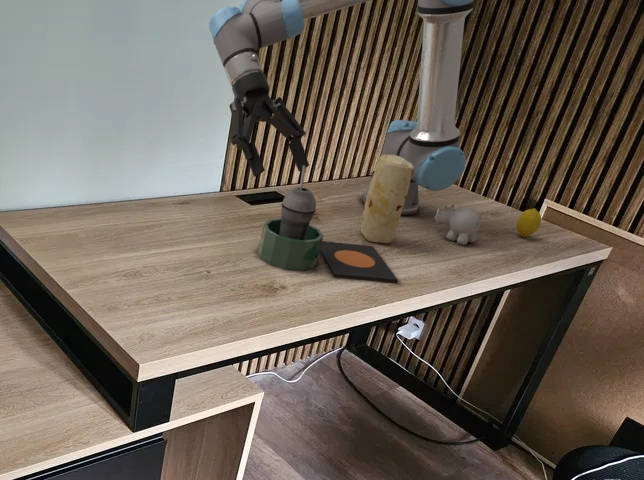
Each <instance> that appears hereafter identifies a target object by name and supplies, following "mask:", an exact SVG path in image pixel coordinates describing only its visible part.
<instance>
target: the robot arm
mask: <svg viewBox="0 0 644 480" xmlns="http://www.w3.org/2000/svg"><path fill="white" fill-rule="evenodd" d="M369 1H371V0H243V1H242V2H241V4H240V6H239V7H238V6H235V5H233V6H226V7H223V8H221V9H219V10H217V11H216V12H215V13H214V14H213V15H212V16H211V18H210V19H209V23H208V28H209V31H210V35H211V38H212V41H213V45H214V47H215V49H216V50H217V51H216V52H217V53H218V56H219V59H220V61H221V64H222V66H223V69H224V72H225V75H226V78H227V81H228V83H229V86H230V87H231V90H232V91H231V92H232V93H233V95H234V100H233V101H232V102H231V103H230V104H229V105H228V106H229V110H230V113H231V120H230V121H231V122H230V124H231V125H230V143H231V145H232V146H236V149H237V150H242V153H243V156H244V158H245V160H246V161H248V164H249V167H250V169H251V173H252V174H253V178H257V177H259V175H261V174H262V173H264V172H265V171H266V170H265V166H264V164H263V162H262V159H261V156H260V154H259V151H258V148H257V145H256V143H255V141H251V138H252V135H253V131H254V127H255V124H256V123H258V122H262V123H266V124H267V125H271V126H273V128H274V129H276V130H277V131H278V133H280V134H281V135H282V136H283V137H284V138H285V139H286V140H287V141H288V142H289V143H288V144H287V145H288V148H289V150H290V152H291V153H290V154H291V155H292V158H293V160H294V164H295V166H296V168H297V171H298V172H302V169H303V166H305V169H307V168H308V167H309V166H310V164H309V163H310V162H309V161H308V158H307V155H306V151H305V148H304V145H303V142H302V138H303V137H304V136H305V135H306V131H305V130H304V128H303V127H302V126H301V124H300V123H299V122H298V120H297V119H296V117H294V115H293V114H292V113H291V111H290V110H289V108H288V107H287V106H286V105H285V102H284V100H283V98H282V97H281V96H278V97H276V99H272V98H271V96H270V91H271V90H270V89H271V88H270V87H271V86H270V84H269V82H268V79H267V77H266V74H265V73H264V69H263V67H262V64H261V61H260V59H259V57H258V53H257V51H258V50H260V49H264V48H266V47H269V46H273V45H275V44H277V43H281V42H283V41H287V40H291V39H292V38H294V37H296V36H298V35H300V34H302V33H303V31H304V30H305V24H306V23H305V21H306V20H310V19H313V18H316V17H320V16H323V15H326V14H329V13H333V12H336V11H340V10H343V9H346V8H349V7H352V6H356V5H360V4H364V3H366V2H369ZM417 2H418V3H417V15H418V16H419V17H420V18H421V19H422V20H423V29H422V30H423V32H422V45H421V47H422V48H421V60H420V73H419V86H418V87H419V89H418V101H417V102H418V103H417V118H416V121H413V120H404V119H395V120H393V121H391V123H389V127H388V129H387V132H386V134H385V135H386V136H385V139H384V142H383V147H382V150H381V153H380V157H381V156H382V155H396V156H399V157H401V158H403V159H405V160H406V161H408V162H410V163H411V164H412V165H413V167H414V171H413V174H412V177H411V181H410V185H409V189H408V193H407V196H406V200H405V203H404V206H403V209H402V212H401V215H400V216H411V215H414V214H416V213H417V211H418V208H419V187H420V188H424V189H426V190H428V191H430V192H431V191H432V192H440V191H443V190H446V189H448V188H450V187H451V186H453V185H454V184H455V182H456V181H458V180H459V179H460V178H461V176H462V175H463V173H464V171H465V169H466V164H467V157H466V155H465V153H464V152H463V150H462V149H461V148H459V146H460V139H461V137H460V136H461V131H460V129H458V127H456V125H455V120H456V108H457V99H458V91H459V80H460V71H461V59H462V49H463V41H464V39H463V38H464V30H465V19H466V17H467V16H468V15H469V14H470V13H471V12H472V11H473V10H474V3H475V0H417ZM244 114H245V115H244ZM374 172H375V170H373V171H372V172H371V175H372V176H373V175H374ZM370 185H371V181H369V184H367V187H366V188H365V190H364V191H363V192H362V197H361V202H362V203H363V204H364V205H365V202H366V198H367V195H368V191H369V188H370Z"/></svg>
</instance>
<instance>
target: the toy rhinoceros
mask: <svg viewBox="0 0 644 480" xmlns="http://www.w3.org/2000/svg"><path fill="white" fill-rule="evenodd" d="M434 221H435V222H436V223H437V224H445V225H449V231H448V232H447V234H446V239H447V240H448V241H453V242H455V241H456V243H457V244H458V245H463V246H466V245H467V244H468V243H475V242H476V241H477V236H478V235H477V232H478V230H479V228H480V226H481V222H482V221H481V216H480V214H479V212H477V211H476V209H474V208H472V207H461V208H459V209H457V210H456V209H455V204H452V205H451V206H450V207H448V205H444V209H442V210H441V209H440V207H438V209H436V214H435V215H434Z"/></svg>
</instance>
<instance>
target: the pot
mask: <svg viewBox="0 0 644 480" xmlns="http://www.w3.org/2000/svg"><path fill="white" fill-rule="evenodd" d="M281 218H282V217H279V218H270V219H268V220H266V221H265V222H264V223H263V224H262V229H261V233H260V239H259V245H258V248H257V254H258V256H259V258H260V259H261V260H263V261H265V262H266V263H268V264H269V265H272V266H275V267H278V268H281V269H284V270H293V271H305V270H309V269H313V268H314V267H315V266H316V265H317V263H318V259H319V256H320V248H321V244H322V241H324V237H325V236H324V233H323V232H322V230H321V229H320V228H318V227H316V226H314V225H312V224H311V223H310V224H309V227H308V230H307V233H306V236H305V239H304V240H296V239H290V238H287V237H283V236H280V235H279V233H280V225H281Z"/></svg>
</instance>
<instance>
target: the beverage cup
mask: <svg viewBox="0 0 644 480" xmlns="http://www.w3.org/2000/svg"><path fill="white" fill-rule="evenodd" d="M305 172H306V168H305V166H303V169H302V171H301V176H300V183H299V187H294V188H292V189H291V190H289V191H288V192H287V193H286V194H285V196H284V198H283V199H282V203H280V204H281V217H280V218H281V225H280V233H279V235H280V236H283V237H287V238H290V239H296V240H304V239H305V236H306V233H307V230H308V227H309V224H311V222H312V219H313V217H314V215H315V213H316V211H317V200H316V198H315V195H314V194H313V192H312V191H311V190H309V189H308V188H306V187H303V185H304V178H305Z"/></svg>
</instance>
